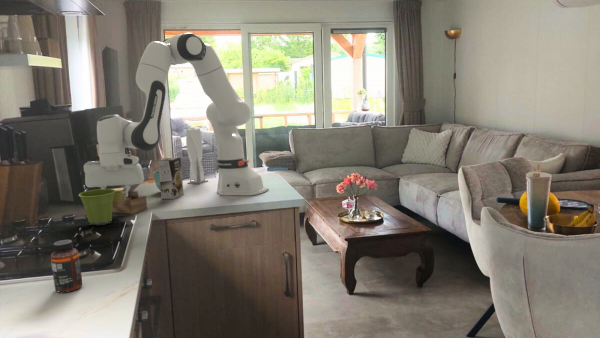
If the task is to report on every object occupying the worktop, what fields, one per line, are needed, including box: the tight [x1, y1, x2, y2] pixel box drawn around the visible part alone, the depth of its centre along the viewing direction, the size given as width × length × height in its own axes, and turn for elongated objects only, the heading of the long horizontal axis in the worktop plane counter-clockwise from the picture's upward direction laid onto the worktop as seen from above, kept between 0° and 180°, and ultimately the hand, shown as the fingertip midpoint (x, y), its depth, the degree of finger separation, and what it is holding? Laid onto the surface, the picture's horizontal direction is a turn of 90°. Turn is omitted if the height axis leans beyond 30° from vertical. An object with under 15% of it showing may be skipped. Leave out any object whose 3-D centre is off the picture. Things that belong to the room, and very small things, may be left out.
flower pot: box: [152, 170, 161, 192], centre depth 235 cm, size 9×9×9 cm
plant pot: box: [78, 188, 115, 223], centre depth 182 cm, size 12×12×11 cm
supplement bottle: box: [50, 239, 83, 293], centre depth 123 cm, size 6×6×11 cm
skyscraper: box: [185, 123, 209, 185], centre depth 252 cm, size 8×8×28 cm
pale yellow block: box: [113, 187, 125, 202], centre depth 193 cm, size 5×5×4 cm
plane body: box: [112, 190, 148, 215], centre depth 202 cm, size 15×8×8 cm, turn 64°
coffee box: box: [157, 157, 184, 200], centre depth 222 cm, size 9×6×16 cm
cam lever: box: [122, 167, 150, 198], centre depth 204 cm, size 11×2×10 cm, turn 149°
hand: (116, 197), depth 193 cm, fingers closed on pale yellow block, 5 cm apart
